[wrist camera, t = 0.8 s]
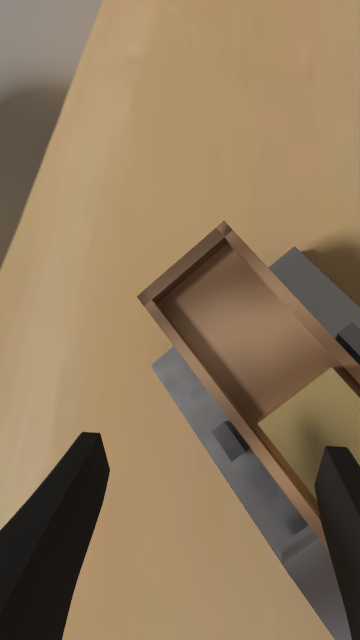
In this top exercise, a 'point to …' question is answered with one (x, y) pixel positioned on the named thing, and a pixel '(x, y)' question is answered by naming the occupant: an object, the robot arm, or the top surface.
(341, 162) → the top surface
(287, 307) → the brown wooden tray
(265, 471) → the pivot stand
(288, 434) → the yellow block
